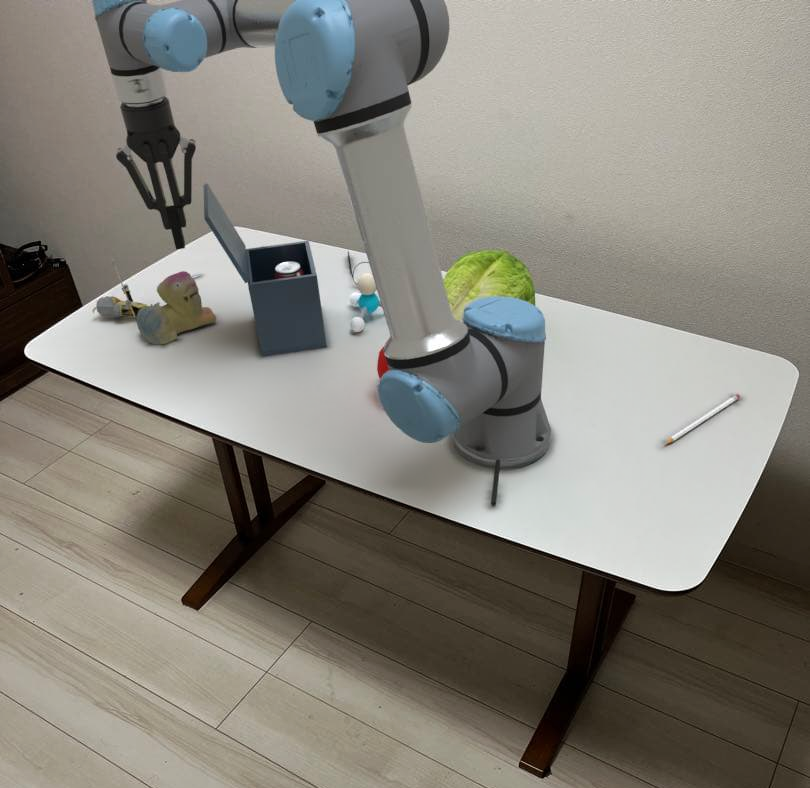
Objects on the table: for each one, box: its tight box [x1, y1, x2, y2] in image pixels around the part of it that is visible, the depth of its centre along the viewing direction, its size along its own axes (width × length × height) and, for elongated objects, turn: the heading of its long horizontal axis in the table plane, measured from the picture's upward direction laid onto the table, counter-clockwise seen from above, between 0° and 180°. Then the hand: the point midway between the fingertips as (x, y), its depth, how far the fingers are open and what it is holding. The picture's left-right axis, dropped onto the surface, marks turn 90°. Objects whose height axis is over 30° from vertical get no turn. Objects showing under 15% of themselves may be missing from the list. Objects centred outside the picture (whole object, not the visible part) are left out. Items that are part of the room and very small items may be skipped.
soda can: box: [275, 262, 303, 279], centre depth 159 cm, size 5×5×12 cm
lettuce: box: [443, 249, 536, 323], centre depth 152 cm, size 17×24×14 cm
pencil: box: [664, 393, 741, 445], centre depth 135 cm, size 1×19×1 cm, turn 129°
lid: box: [203, 183, 249, 284], centre depth 148 cm, size 13×15×1 cm
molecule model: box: [348, 272, 382, 333], centre depth 162 cm, size 12×12×9 cm
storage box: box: [246, 240, 328, 357], centre depth 158 cm, size 12×15×14 cm
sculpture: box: [136, 270, 217, 345], centre depth 163 cm, size 15×8×10 cm, turn 135°
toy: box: [92, 254, 160, 319], centre depth 172 cm, size 5×22×15 cm
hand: (180, 245), depth 148 cm, fingers closed
